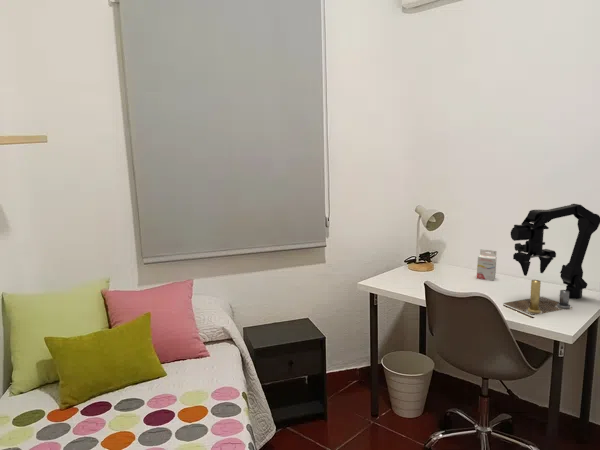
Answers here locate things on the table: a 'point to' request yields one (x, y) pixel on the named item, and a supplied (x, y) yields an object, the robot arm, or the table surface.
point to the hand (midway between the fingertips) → (533, 274)
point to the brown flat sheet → (539, 307)
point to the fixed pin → (564, 300)
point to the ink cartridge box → (486, 265)
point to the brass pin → (535, 297)
